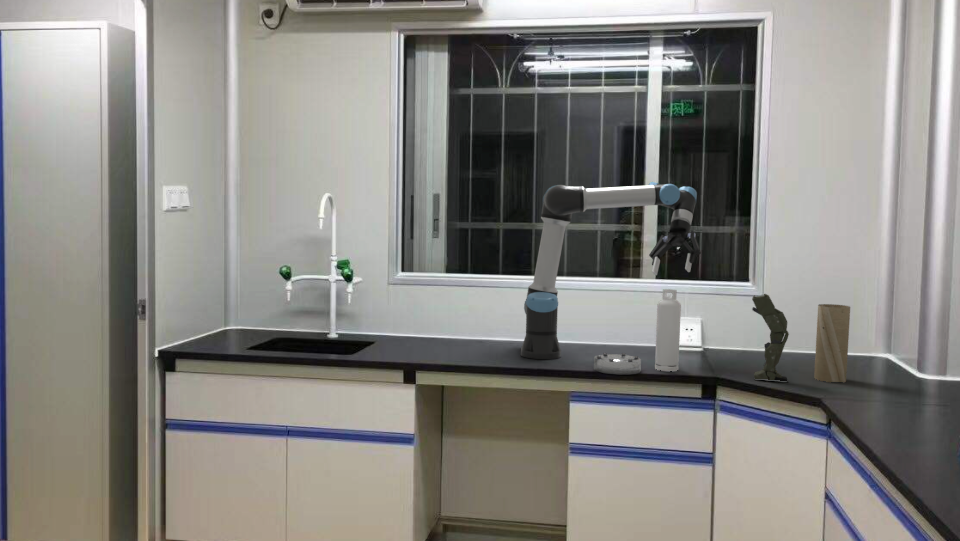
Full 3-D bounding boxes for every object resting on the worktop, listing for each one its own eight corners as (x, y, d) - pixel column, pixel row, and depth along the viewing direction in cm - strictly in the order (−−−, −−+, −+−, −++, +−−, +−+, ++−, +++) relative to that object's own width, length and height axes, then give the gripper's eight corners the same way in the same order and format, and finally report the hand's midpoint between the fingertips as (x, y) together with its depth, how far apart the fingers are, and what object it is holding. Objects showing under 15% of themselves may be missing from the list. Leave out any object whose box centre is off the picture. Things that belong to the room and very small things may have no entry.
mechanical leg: (799, 377, 279) (780, 289, 279) (799, 382, 272) (780, 291, 272) (756, 383, 284) (738, 297, 284) (756, 388, 277) (737, 299, 277)
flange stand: (598, 374, 282) (598, 360, 282) (590, 365, 298) (590, 351, 298) (645, 374, 283) (645, 360, 283) (634, 365, 299) (635, 352, 299)
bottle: (680, 368, 296) (683, 289, 294) (675, 372, 289) (679, 291, 286) (657, 366, 299) (660, 288, 297) (652, 369, 292) (655, 290, 290)
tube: (843, 384, 275) (847, 308, 273) (811, 380, 280) (815, 306, 278) (848, 379, 283) (852, 305, 282) (817, 375, 289) (821, 303, 287)
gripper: (715, 225, 312) (706, 274, 303) (656, 233, 329) (645, 279, 319) (707, 214, 307) (697, 263, 298) (647, 222, 324) (636, 269, 315)
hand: (670, 272), depth 309 cm, fingers open, 13 cm apart
